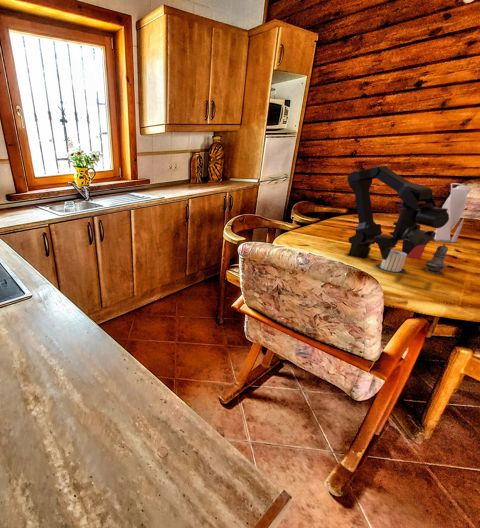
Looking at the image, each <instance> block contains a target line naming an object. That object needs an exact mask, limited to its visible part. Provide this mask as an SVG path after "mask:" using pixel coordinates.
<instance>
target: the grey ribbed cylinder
mask: <svg viewBox="0 0 480 528" xmlns="http://www.w3.org/2000/svg"><path fill="white" fill-rule="evenodd" d="M406 256H407V254H406V253H404V252H402V250H396V249H391V251H390V253H389V255H388V257H387V259H386V260H383V259H382V260H381V263H380V264H381V266H380V267H381V268H382V269H384V270H387V271H393V272H394V271H395V272H399V271H401V269H402V268H403V267H404V264H405V262H406V259H407V257H406Z"/></svg>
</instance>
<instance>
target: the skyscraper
mask: <svg viewBox="0 0 480 528" xmlns="http://www.w3.org/2000/svg"><path fill="white" fill-rule="evenodd" d="M453 185H457V186H456V187H453ZM472 190H473V187H472V186H468V185H464V184H463V183H457V182H452V183H450V194H449V196H448V197H447V198H446V200H445V202H444V203H443V204H442V207H441V208H445V209H448V210H447V213H448V214H449V220H448V222H447V223H446V224H445V225H444V226H443V227H441V228H435V229H436V230H434V232H436V234H435V238H434V240H433V241H436V242H437V243H451V244H452V243H453V244H454V243H456V244H457V243H458V241H457V240H458V238H459V236H460V235H459V234H460V232H461V230H462V228H463V224H464V219H465V216H463V214H464V212H465V209H466V207H467V201H468V200H467V199H468V195H469V194H470V192H471V191H472ZM462 216H463V218H462ZM461 218H462V220H461ZM459 221H460V223H459ZM458 223H459V225H457V224H458ZM456 225H457V227H456V230H455V231H454V234H453V235H452V238H451V232H452V230H453V229H454V228H455V226H456Z"/></svg>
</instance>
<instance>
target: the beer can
mask: <svg viewBox="0 0 480 528" xmlns="http://www.w3.org/2000/svg"><path fill="white" fill-rule="evenodd" d="M420 230H421V231H425V232H427V231H428V230H425V229H420ZM426 246H427V245H420V246H416V247H415V248H414V249H413V250H412V251H411V252H410V253H409V254H408V255H407V256H406V258H409V259H417V260H418V259H421V258H422V256H423V253H424V251H425V249H426Z"/></svg>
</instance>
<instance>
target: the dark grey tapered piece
mask: <svg viewBox="0 0 480 528" xmlns="http://www.w3.org/2000/svg"><path fill="white" fill-rule="evenodd" d="M448 250H449V247H448V246H446V243H443V244H442V245H439V246H437V247H436V249H435V252H434V253H432V254H433V255H432V258H431V259H430V260H426V261H425V262H424V263H425V267H426V268H425V269H424V270H425V272H427V273H432V274H441V273H442V272H441V271H443V270H444V269H445V268H446V267H447V266H448V265H447V264H446V263H444V261H445V258H446V257H447V253H448Z"/></svg>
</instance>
